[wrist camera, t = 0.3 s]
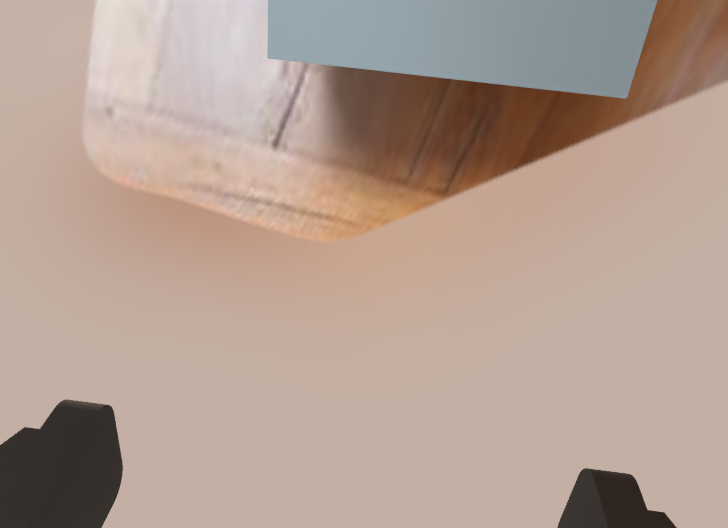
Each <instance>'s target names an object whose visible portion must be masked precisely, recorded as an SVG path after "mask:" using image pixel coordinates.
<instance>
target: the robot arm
mask: <svg viewBox="0 0 728 528" xmlns="http://www.w3.org/2000/svg"><path fill="white" fill-rule="evenodd" d="M122 468H123V466H122V458H121V453H120V446H119V440H118V434H117V429H116V422H115V417H114V411H113V409H112V407H111V406H109V405H104V404H96V403H88V402H81V401H73V400H63V401H62V402H60V403H59V404H58V405H57V406H56V407H55V409H54V410H53V411H52V413H51V414H50V416H49V417H48V418H47V420H46V421H45V423H44V424H43V425H42V427H41V428H40V429H34V428H26V427H24V428H23V429H22V430H21V431H19V432H18V433H17V434H15V435H14V436H12V437H11V438H9V439H8V440H7V441H6V442H4V443H3V444H1V445H0V528H101V527H102V525H103V523H104V521H105V519H106V518H107V516H108V513H109V512H110V510H111V508H112V506H113V504H114V501H115V499H116V497H117V494H118V491H119V487H120V484H121V479H122V470H123V469H122ZM558 528H676V527H675V525H674V524H673V523H672V522H671V520H670V519H669V518H668V517H667V515H666V514H665V513H663V512H657V511H649V510H647V508H646V505H645V502H644V500H643V497H642V494H641V492H640V489H639V486H638V484H637V482H636V480H635V478H634V477H633V476H632V475H630V474H625V473H617V472H610V471H601V470H594V469H583V470H582V471H581V472H580V474H579V476H578V478H577V481H576V483H575V486H574V488H573V490H572V493H571V495H570V497H569V500H568V502H567V505H566V507H565V509H564V512H563V514H562V517H561V519H560V522H559V525H558Z"/></svg>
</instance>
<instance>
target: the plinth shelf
mask: <svg viewBox="0 0 728 528" xmlns="http://www.w3.org/2000/svg"><path fill="white" fill-rule="evenodd" d="M656 4H657V0H268V58H269V59H278V60H287V61H296V62H305V63H314V64H322V65H331V66H340V67H349V68H358V69H367V70H376V71H385V72H394V73H402V74H411V75H420V76H429V77H438V78H447V79H456V80H465V81H474V82H482V83H491V84H500V85H509V86H518V87H527V88H536V89H545V90H554V91H562V92H571V93H580V94H589V95H598V96H607V97H616V98H625V99H627V96H628V93H629V90H630V87H631V84H632V80H633V77H634V74H635V71H636V68H637V64H638V61H639V58H640V55H641V52H642V48H643V45H644V42H645V39H646V36H647V32H648V29H649V26H650V23H651V20H652V16H653V13H654V10H655V7H656Z"/></svg>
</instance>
